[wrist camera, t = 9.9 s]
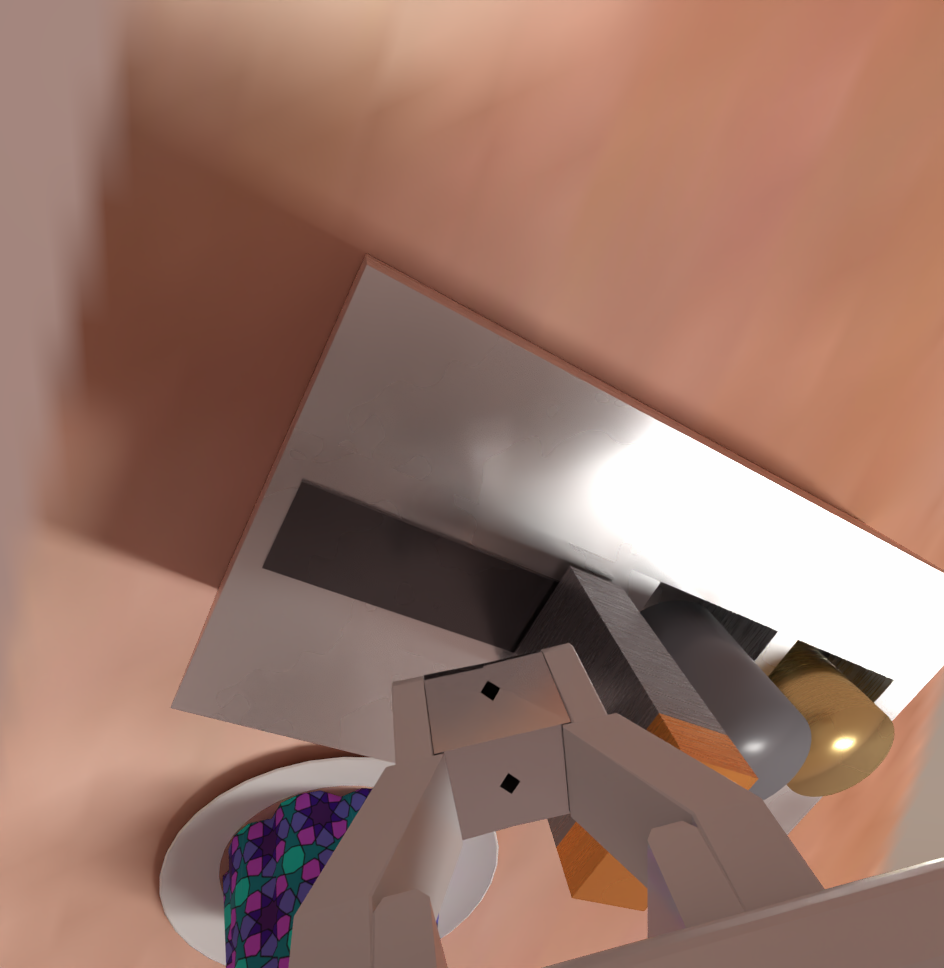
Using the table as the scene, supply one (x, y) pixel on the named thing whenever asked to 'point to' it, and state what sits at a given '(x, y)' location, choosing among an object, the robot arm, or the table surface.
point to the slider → (624, 712)
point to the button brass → (832, 723)
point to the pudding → (283, 861)
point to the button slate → (734, 692)
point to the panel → (517, 533)
